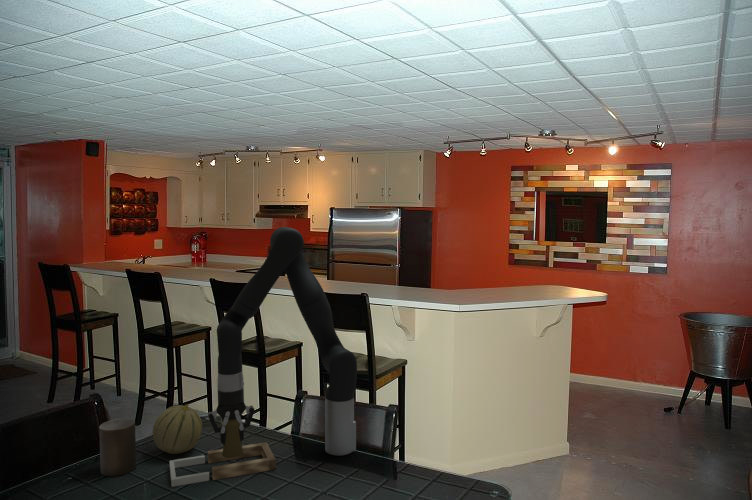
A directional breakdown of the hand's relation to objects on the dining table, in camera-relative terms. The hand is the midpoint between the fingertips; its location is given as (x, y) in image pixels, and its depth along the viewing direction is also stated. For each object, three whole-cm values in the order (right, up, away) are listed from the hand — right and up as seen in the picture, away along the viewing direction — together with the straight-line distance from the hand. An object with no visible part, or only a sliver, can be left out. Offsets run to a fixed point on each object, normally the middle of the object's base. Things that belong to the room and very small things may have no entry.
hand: (232, 442), depth 163 cm
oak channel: (+2, -7, +1) cm, 8 cm away
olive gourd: (0, -4, 0) cm, 4 cm away
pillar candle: (-33, -7, -2) cm, 34 cm away
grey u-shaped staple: (-11, -7, -4) cm, 13 cm away
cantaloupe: (-20, -7, +10) cm, 23 cm away
